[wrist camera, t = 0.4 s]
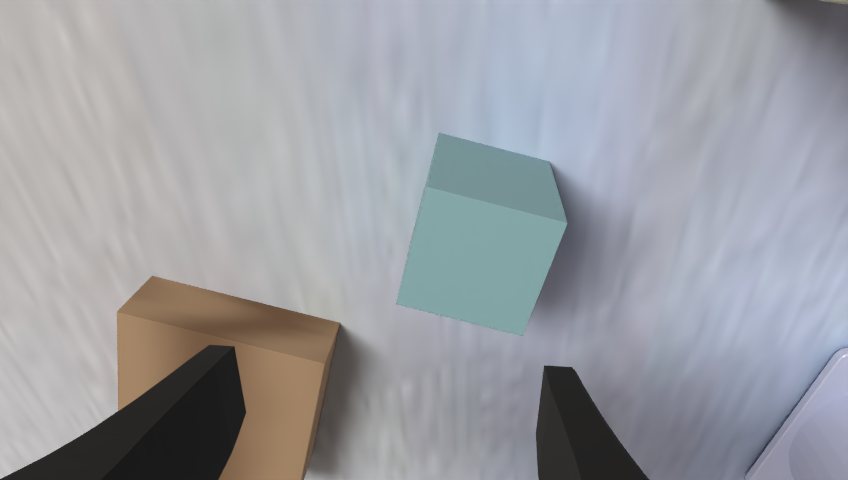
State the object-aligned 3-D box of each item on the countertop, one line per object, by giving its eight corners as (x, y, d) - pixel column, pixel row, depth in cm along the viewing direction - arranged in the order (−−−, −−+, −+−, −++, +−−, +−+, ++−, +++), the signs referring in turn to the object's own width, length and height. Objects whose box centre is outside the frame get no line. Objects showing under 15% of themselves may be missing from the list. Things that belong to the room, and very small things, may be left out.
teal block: (549, 161, 21) (567, 222, 16) (514, 256, 22) (522, 335, 18) (439, 132, 20) (426, 186, 16) (413, 231, 22) (396, 304, 18)
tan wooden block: (341, 318, 25) (324, 363, 22) (314, 447, 29) (296, 500, 26) (156, 271, 25) (117, 312, 22) (153, 408, 28) (119, 456, 26)
